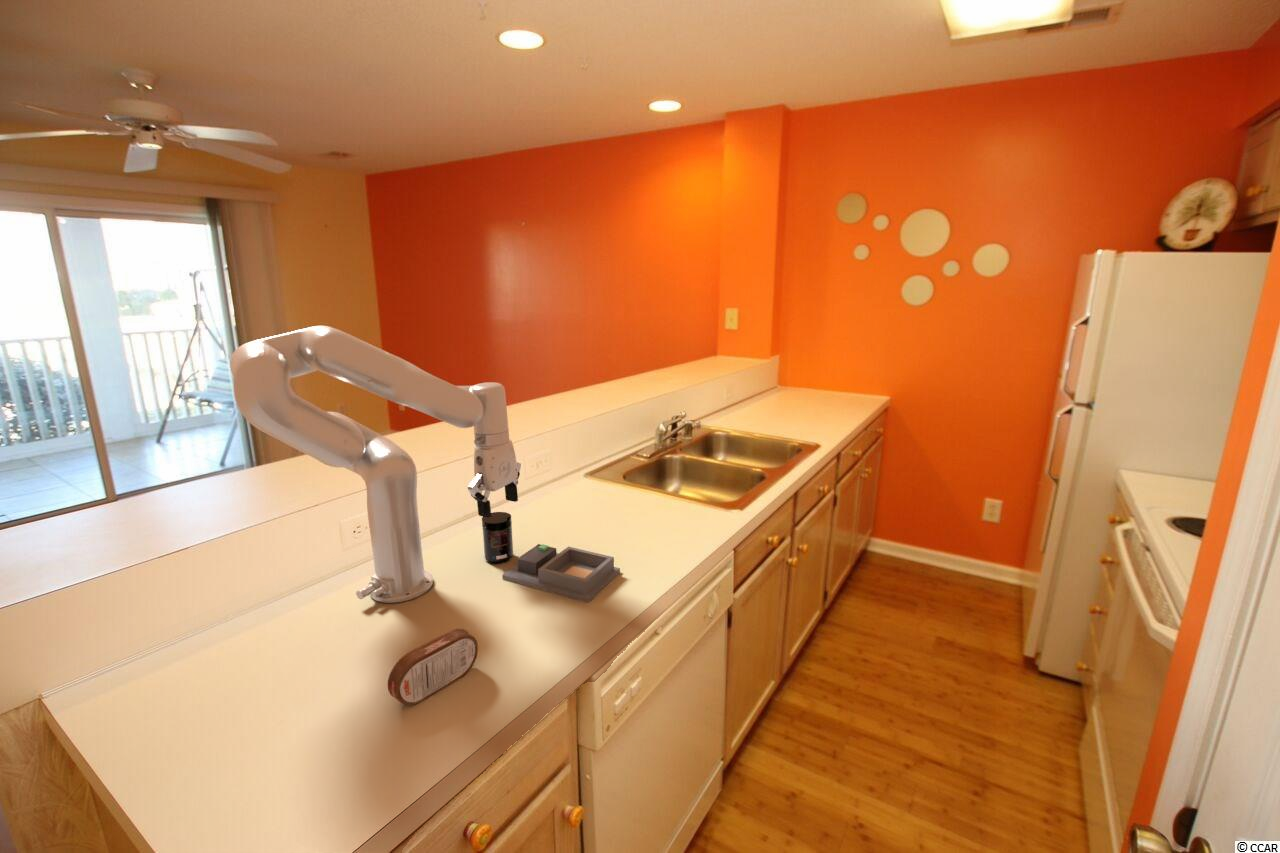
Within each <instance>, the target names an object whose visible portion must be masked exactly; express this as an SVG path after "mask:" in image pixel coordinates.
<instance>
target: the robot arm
mask: <svg viewBox="0 0 1280 853" xmlns="http://www.w3.org/2000/svg"><path fill="white" fill-rule="evenodd" d="M229 368H230V372H231V373H232V376H233V377H232V378H233V379H232V380H233V381H232V382H233V393H234V394H233V395H234V399H235V403H236V406H237V407H238V410H239V412H240V413H241V414H242V416H243V417H244V418H245V419H246V421H247V422H248V423H250V425H252V426H253V427H254V428H255V429H257V430H259V431H260V432H263V433H264V434H267V435H268V436H270V437H272V438H275V439H276V440H278V441H280V442H282V443H284V444H285V445H286V446H289V447H291V448H293V449H295V450H297V451H299V452H301V453H303V454H305V455H306V456H310V457H311V458H314V459H315V460H317V461H318V462H320V463H322V464H323V465H325V466H329V467H331V468H332V467H333V468H338V469H339V468H345V469H346V470H349V471H350V472H352V473H355V474H356V475H358V476H360V477H361V479H362V480H363V481H364V483H365V489H366V509H367V521H368V526H369V534H370V541H371V549H372V558H373V564H374V574H373V575H371V576H370V580H371V581H370V582H369V583H368V584H367V585H366V586H363V587H361V588H360V589H359V590H356V591H355V595H356V596H357V599H359V600H363V599H365V598H366V597H368V596H370V598H371V599H373V600H375V601H376V602H380V603H386V604H387V603H388V604H389V603H391V604H393V603H394V604H395V603H401V602H406V601H410V600H413V599H416V598H418V597H420V596H422V595H424V594H425V593H427V591H429V590H430V589H431V587H432V586H433V582H434V581H433V580H434V579H433V576H432V574H431V572H429V571H427V570H425V568H424V567H425V566H424V557H423V546H422V541H421V540H422V538H421V537H422V536H421V529H420V528H421V527H420V520H419V518H420V516H419V511H418V497H417V495H418V493H417V491H418V490H417V488H418V471H417V467H416V463H415V462H414V460H413V458H412V456H410V454H409V453H408V452H407V451H406V450H404V449H403V448H402V447H400V446H399V445H397V444H396V443H395V442H393V441H392V440H391V439H389V438H388V437H386V436H384V435H382V434H380V433H378V432H376V431H375V430H373V429H372V428H371V429H370V428H369V427H367V426H366V425H363V424H361V423H360V422H358V421H356V420H354V418H353V419H352V418H351V417H349V416H347V415H344V414H343V413H341V412H336V411H326V410H324V409H322V408H320V407H318V406H317V405H315V404H313V403H312V402H310V401H308V400H306V399H304V398H302V397H300V396H299V395H297V394H296V393H295V391H293V388H292V386H291V384H290V383H291V382H290V381H291V379H293V378H296V377H297V378H298V377H300V376H305V375H307V374H311V373H314V372H317V371H318V372H321V373H323V374H325V375H327V376H330V377H331V378H335V379H337V380H340V381H341V382H345V383H347V384H350V385H352V386H354V387H358V388H360V389H362V390H365V391H366V392H368V393H370V394H374V395H377V396H378V397H380V398H384V399H386V400H388V401H390V402H392V403H395V404H398V405H402V406H405V407H408V408H411V409H413V410H415V411H418V412H421V413H423V414H425V415H428V416H430V417H432V418H435V419H437V420H439V421H443V422H445V423H447V424H449V425H452V426H454V427H457V428H459V429H468V428H472V427H473V431H474V432H473V433H474V439H473V443H474V445H475V447H474V453H473V454H474V455H473V470H474V472H473V473H474V474H473V475H474V478H473V479H472V481H471V482H470V483H469V485H468V486H467V490H468V492H469V494H470V496H471V497H472V498H473V499H474V501H476V502H477V504H476V505H477V512H478V516H479V517H488V518H489V517H491V513H492V508H491V501H490V500H488V499H489V496H490V494H491V492H496V491H499V490H500V489H503V488H504V493H505V499H506V501H510V502H515V503H516V502H518V501H519V496H518V486H517V485H518V484H519V478H520V474H521V473H520V472H521V468H522V463H520V462H517V457H516V456H517V455H516V451H515V447H514V444H513V441H512V439H511V438H510V431H509V429H510V428H509V420H508V408H507V395H506V388H505V386H504V385H503V384H502V383H500V382H492V381H491V382H482V383H477V384H474V385H454V383H453V384H452V383H450V382H449V381H446V380H443V378H442V379H441V378H440V377H437V376H435V375H433V374H431V373H429V372H427V371H426V370H424V369H421V368H420V367H418V366H417V365H416V364H414V363H411V362H410V361H407V360H405V359H404V358H402V357H400V356H397V355H395V354H392V353H390V352H388V351H386V350H384V349H382V348H379V347H378V346H375V345H373V344H370V343H369V342H366V341H364V340H363V339H360V338H358V337H356V336H353V335H352V334H349V333H347V332H345V331H342V330H340V329H338V328H335V327H332V326H327V325H315V326H309V327H306V328H302V329H297V330H294V331H291V332H290V331H289V332H286V333H282V334H278V335H273V336H269V337H265V338H261V339H256V340H252V341H249V342H246V343H243V344H241V345H240V346H238V347H237V348H236V349H235V350H234V351H233V353H232V355H231V357H230V363H229ZM483 491H484V492H483Z"/></svg>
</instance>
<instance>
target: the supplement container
mask: <svg viewBox="0 0 1280 853" xmlns="http://www.w3.org/2000/svg"><path fill="white" fill-rule="evenodd" d="M512 522H513V521H512V514H510V513H509V512H505V511H494V512H493V511H492V512H491V517H489V518H488V517H483V516H481V527H482V535H483V537H482V539H483V540H482V541H483V550H484V551H483V552H484V560H485V561H486V562H488V563H489V564H491V565H493V564H495V565H498V564H504V563H507V562H509V561H510V560H512V558H514V545H513V544H514V542H513V540H514V539H513V527H512Z"/></svg>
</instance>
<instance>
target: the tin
mask: <svg viewBox="0 0 1280 853" xmlns="http://www.w3.org/2000/svg"><path fill="white" fill-rule="evenodd" d="M478 651H479V645H478V640H477V639H476V637H475V636H474V635H472V634H471V633H470V632H469V631H467V630H466V629H464V628H454V629H451V630H449V631H447V632H445V633H443V634H441V635H440V636H437V637H435V638H433V639H431V640H430V641H428V642H425V643H424V644H421V645H420V646H418V647H415V648H413V649H411V650H409V651H408V652H407V653H405V654H404V655H403V656H402V657H401V658H399V660H397V662H396V663H395V664H394V666H393V667H392V669H391V671H390V673H389V675H388V680H387V689H388V690H387V691H388V693H389V695H390V696H391V697H393V698H394V699H395V700H397V701H398V702H399V703H400V704H403V705H406V706H407V705H408V706H412V705H416V704H419V703H421V702H423V701H425V700H426V699H428V698H429V697H432V696H434V694H437V693H438V692H439V691H442V690H444V689H445V688H446V687H448V686H450V685H451V684H454V683H455V682H457V681H458V680H460V679H461V678H463V677H464V676H465V675H466V674H468V673H469V672H470V670H471V669H472V667H473V666H474V664H475V662H476V660H477V657H478Z"/></svg>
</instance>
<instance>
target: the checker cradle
mask: <svg viewBox="0 0 1280 853" xmlns="http://www.w3.org/2000/svg"><path fill="white" fill-rule="evenodd" d="M516 560H517V563H516V565H514V566H513V567H511V568H510V569H508V570H507V571H505V572H504V573H502V576H501V577H502V580H505V581H509V582H512V583H517V584H520V585H524V586H525V587H526V586H527V587H531V588H533V589H534V588H535V589H537V590H542V591H544V592H549V593H552V594H556V595H559V596H563V597H567V598H570V599H574V600H577V601H581V602H585V603H590V602H591V601H592V600H593V599H594V598H595V597H596V596H597V595H598V594H599V593H601V591H602V590H603V589H604V588H605V587H606V586H608V584H609V583H611V581H612V580H614V579H615V578H616V577H617V576H618V575H619V574H620V573H621V568H619V567H618V566H617V567H616V566H615V557H614V556H610V555H606V554H602V553H598V552H593V551H588V550H584V549H582V548H581V549H580V548H576V547H573V546H567V547H566V548H565V549H563V550H561V552H559V553H558V552H557V548H556V547H553V546H549V545H547V544H543V543H542V544H540V543H537V544H536V545H535V546H533V547H532V548H531V549H528V551H526V552H525V553H523V554H522V555H520V556H519V557H518V558H516Z"/></svg>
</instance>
